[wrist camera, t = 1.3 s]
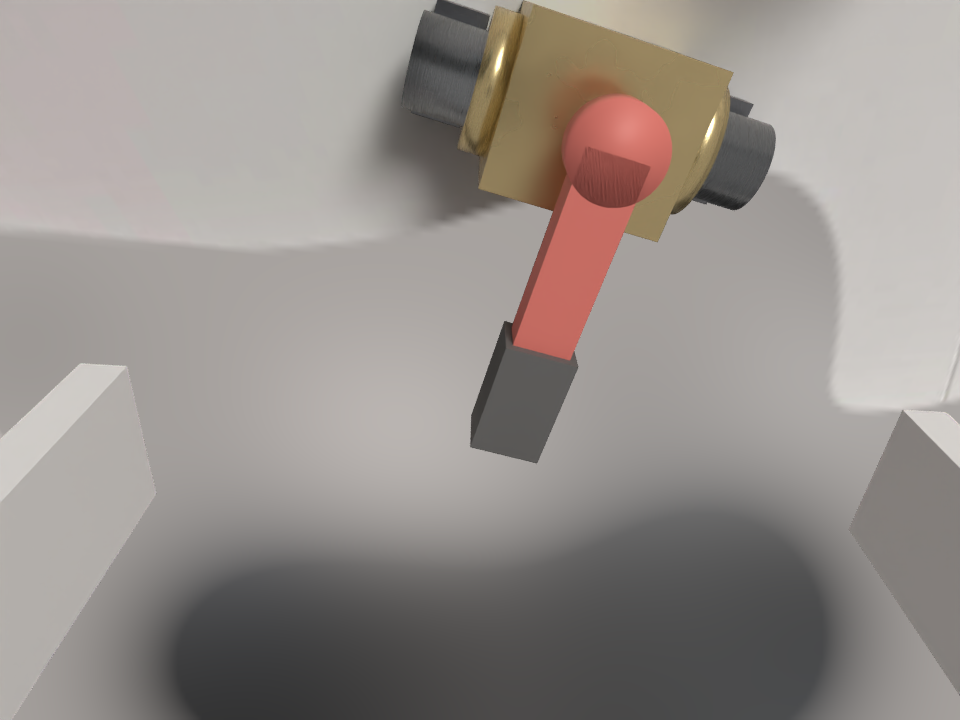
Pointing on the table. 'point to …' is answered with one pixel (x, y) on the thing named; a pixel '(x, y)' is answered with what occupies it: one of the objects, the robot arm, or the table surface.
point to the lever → (569, 271)
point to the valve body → (579, 105)
